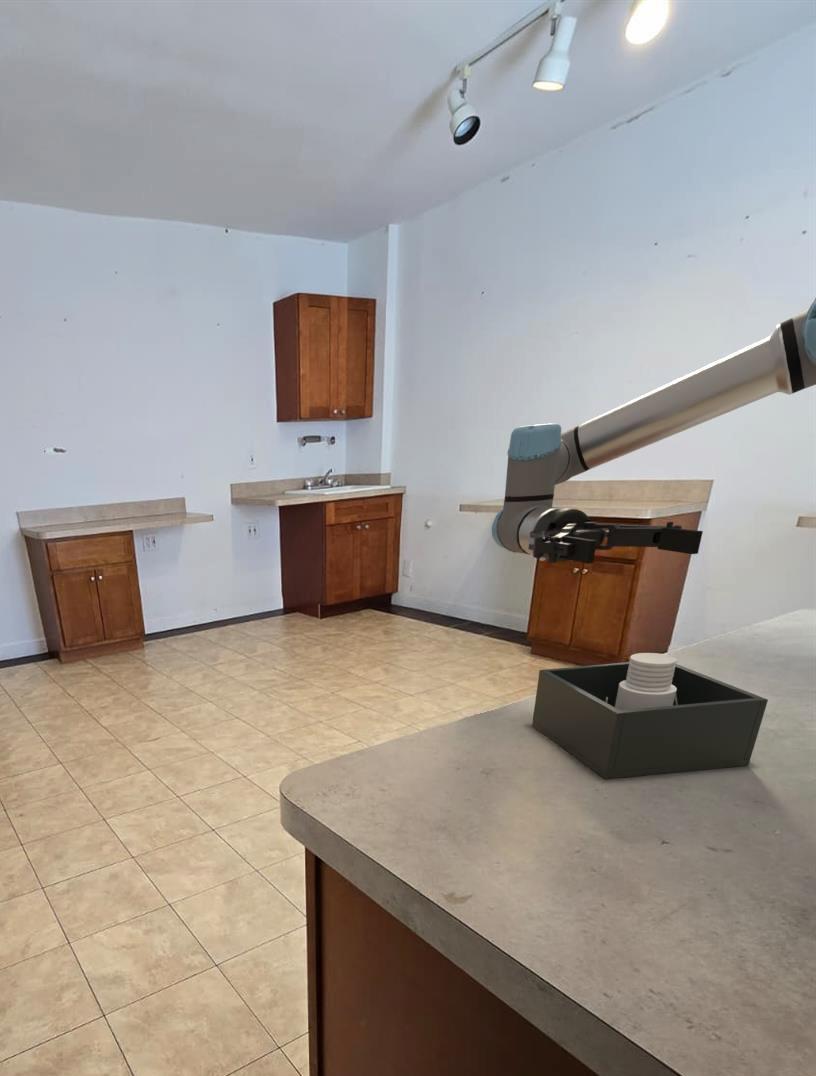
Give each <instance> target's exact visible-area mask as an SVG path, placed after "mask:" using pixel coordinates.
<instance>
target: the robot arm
mask: <svg viewBox="0 0 816 1076" xmlns="http://www.w3.org/2000/svg"><path fill="white" fill-rule="evenodd" d="M814 386H816V297H815V299H814V300H813V301H812V303H811V304H810V305H809V308H807V309H806V310H804V311H801V313H798V314H796V315H795V316H793V317H791V318H789V319H787V320H785V321H783V322H781V323H779V324H776V326H775V327H774V329H773V330H772V332H771V333H770V335H769V336H767V337H766V338H764V339H761V340H760V341H758V342H755V343H753V344H751V345H749V346H746V347H744V348H742V349H740V350H738V351H736V352H734V353H732V354H729V355H727V356H725V357H723V358H721V359H719V360H716V361H714V362H712V363H710V364H708V365H706V366H704V367H701V368H699V369H697V370H695V371H694V372H691V373H689V374H686V375H684V376H683V377H680V378H677V379H675V380H673V381H671V382H669V383H667V384H665V385H663V386H661V387H658V388H656V389H654V390H652V391H650V392H648V393H646V394H644V395H641V396H639V397H637V398H635V399H633V400H631V401H628V402H627V403H624V404H621V405H620V406H618V407H615V408H613V409H611V410H609V411H607V412H605V413H603V414H600V415H599V416H596V417H594V418H591V419H589V420H587V421H585V422H584V423H581V424H578V425H577V426H575V427H572V428H570V429H568V430H566V431H564V432H562V426H561V425H560V424H559V423H555V422H554V423H553V422H552V423H541V424H532V425H531V424H530V425H522V426H518V427H515V428H514V429H513V430H512V431H511V434H510V439H509V445H508V450H507V464H506V465H507V467H506V478H505V491H504V499H503V500H504V501H503V506H502V508H501V510H499V512H497V514H496V515H495V517H494V519H493V521H492V523H491V535H492V536H491V537H492V538H493V540H494V542H495V543H496V545H498V547H501V548H502V549H505V550H507V551H508V552H512V553H517V554H518V553H519V554H524V555H530V556H532V558H534V559H539V561H540V562H544V561H546V560H547V563H550V564H555V563H556V564H557V563H558V562H559V563H561V562H562V563H563V562H564V563H565V562H569V561H573V562H578V563H583V564H588V565H589V564H594V561H595V554H596V551H610V550H612V549H614V548H615V547H621V548H622V547H628V548H630V547H631V548H657V550H660V551H661V550H662V551H666V552H667V551H668V552H675V553H681V554H686V555H687V554H688V555H698V554H699V550H700V545H701V542H702V537H703V533H704V532H703V530H697V529H696V530H695V529H685V528H683V526H682V525H679V524H675V525H674V523H675V522H674V521H668V522H666V525H643V524H642V525H641V524H621V523H599V522H598V521H591V519H590V518H589V516H588V515H587V514H586V512H584V511H582V510H580V509H577V508H570V507H569V508H567V507H560V506H553V503H554V496H555V487H556V486H557V485H559V484H561V483H565V482H567V481H569V480H570V479H571V478H574V477H576V476H578V475H580V474H583V473H585V472H588V471H590V470H592V469H595V468H597V467H599V466H602V465H604V464H607V463H609V462H611V461H614V460H616V459H619V458H621V457H623V456H626V455H628V454H631V453H633V452H635V451H638V450H640V449H643V448H646V447H647V446H651V445H653V444H655V443H657V442H660V441H662V440H664V439H667V438H669V437H672V436H674V435H677V434H680V433H682V432H684V431H686V430H689V429H691V428H694V427H696V426H698V425H701V424H703V423H706V422H708V421H711V420H714V419H716V418H718V417H722V416H723V415H726V414H728V413H730V412H733V411H736V410H738V409H739V408H742V407H746V406H747V405H750V404H752V403H754V402H757V401H759V400H762V399H765V398H766V397H769V396H771V395H774V394H776V393H782V394H785V395H790V396H791V395H793V394H795V393H798V392H800V391H803V390H805V389H808V388H810V387H814ZM605 540H607V541H606V544H603V543H604V541H605Z"/></svg>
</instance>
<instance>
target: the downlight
mask: <svg viewBox="0 0 816 1076" xmlns="http://www.w3.org/2000/svg"><path fill="white" fill-rule="evenodd" d="M677 661H678V659H677V658H676V657H675V656H672V655H669V654H664V653H658V652H657V653H656V652H639V653H634V654H631V655H630V657H629V661H628V662H629V667H628V672H627V674H628V675H627V677H626V680H624V681H622V682H620V683H619V688H618V693H617V698H616V704H615V708H617V709H618V710H620V711H621V710H631V709H642V708H653V707H663V706H673V703H674V698H675V701H676V705H678V704H677V697H676V690H677V688H676V687H675V686H674V685H672V684H671V683H672V678H673V675H674V674H673V673H674V671H675V666H676V664H677ZM607 700H608V698H607V697H606V703H607Z"/></svg>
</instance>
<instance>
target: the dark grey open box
mask: <svg viewBox="0 0 816 1076" xmlns="http://www.w3.org/2000/svg"><path fill="white" fill-rule="evenodd" d="M629 662H630V661H626V662H625V661H624V662H614V663H604V664H603V663H601V664H590V665H581V666H570V667H558V668H549V669H547V668H546V669H539V672H538V679H537V685H536V694H535V701H534V709H533V716H532V722H531V726H532V727H533V728H534V729H536V730H537V731H538V732H540V733H541V734H542V735H544V736H545V737H547V738H548V739H549V740H551V741H552V742H553V743H555V744H556V745H557V746H559V747H560V748H561V749H563V750H564V751H566V752H567V753H569V754H570V755H571V756H573V757H574V758H575V759H577V760H578V761H579V762H581V763H582V764H584V765H585V766H586V767H587V768H589V769H590V770H592V771H593V772H594V773H596V774H597V775H599V776H600V777H601V778H603V779H604V780H610V779H611V780H612V779H622V778H632V777H641V776H651V775H652V776H653V775H661V774H662V775H663V774H671V773H672V774H673V773H682V772H683V773H684V772H694V771H704V770H712V769H714V770H715V769H724V768H725V769H726V768H734V767H743V766H749V765H750V762H751V758H752V756H753V751H754V749H755V745H756V741H757V739H758V735H759V731H760V728H761V725H762V722H763V718H764V715H765V712H766V709H767V705H768V703H769V699H768V698H765V697H762V696H760V695H757V694H755V693H752V692H750V691H747V690H744V689H741V688H739V687H736V686H734V685H732V684H729V683H726V682H724V681H721V680H718V679H716V678H713V677H711V676H708V675H706V674H703V673H700V672H698V671H696V670H692V669H691V668H689V667H688V668H687V667H685V666H682V665H681V664H677V663H676V666H675V671H674V673H673V674H674V675H673V678H672V683H671V684H672V685H674V686H675V687H676V688H677V690H676V697H677V704H678V705H676V701H675V698H674V703H673V706H663V707H653V708H642V709H631V710H621V711H620V710H618V709H617V708H615V704H616V698H617V693H618V688H619V683H620V682H622V681H624V680H626V677H627V675H628V674H627V672H628V667H629ZM606 697H607V698H608V700H607V703H606Z"/></svg>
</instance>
